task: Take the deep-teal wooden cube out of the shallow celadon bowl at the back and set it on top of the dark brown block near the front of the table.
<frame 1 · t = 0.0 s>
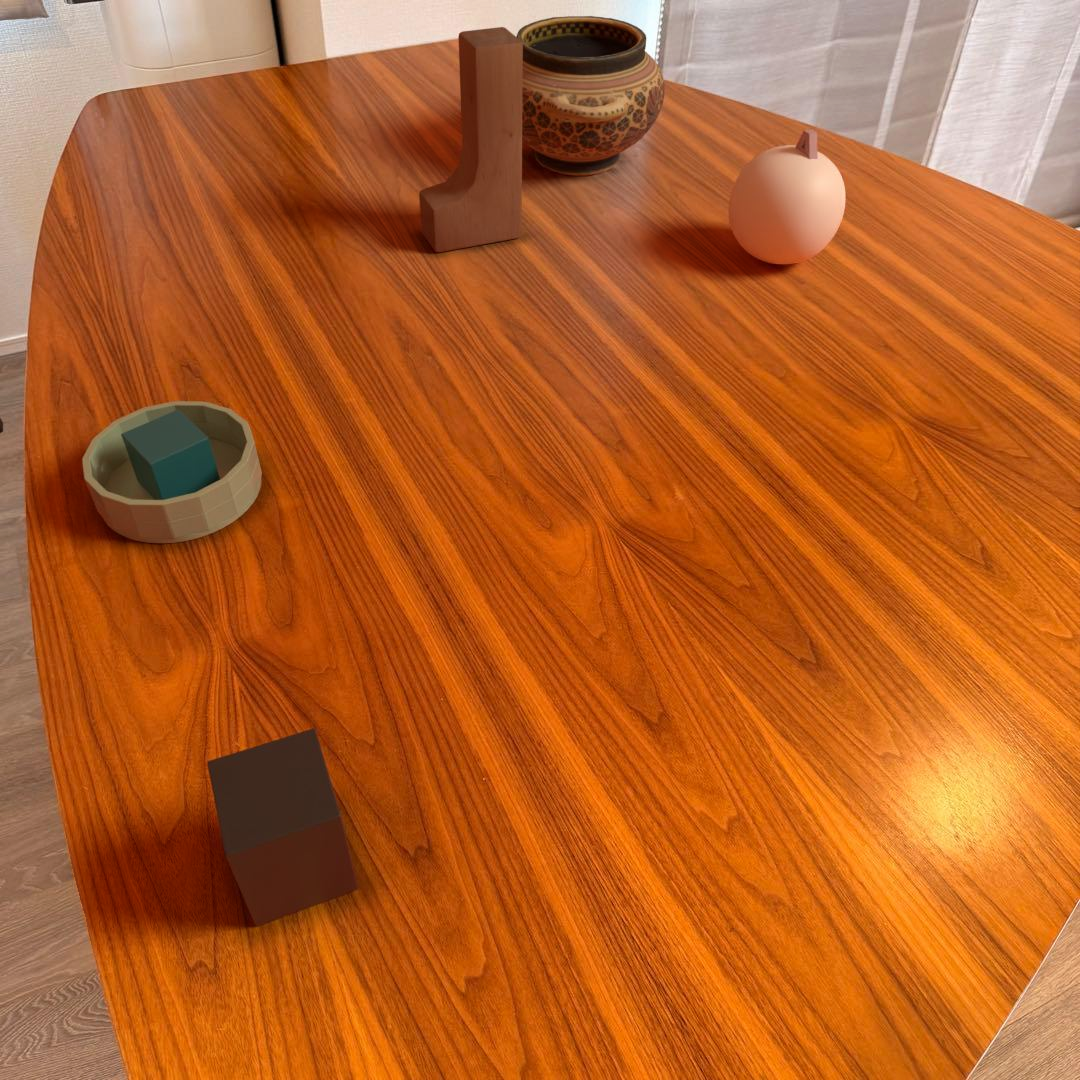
ornament: (775, 258, 94), on the table
teal block: (179, 483, 68), resting on dish
dish: (181, 488, 68), on the table
dark brown block: (272, 787, 43), on the table
ceramic bowl: (576, 160, 109), on the table
wooden block: (471, 238, 95), on the table
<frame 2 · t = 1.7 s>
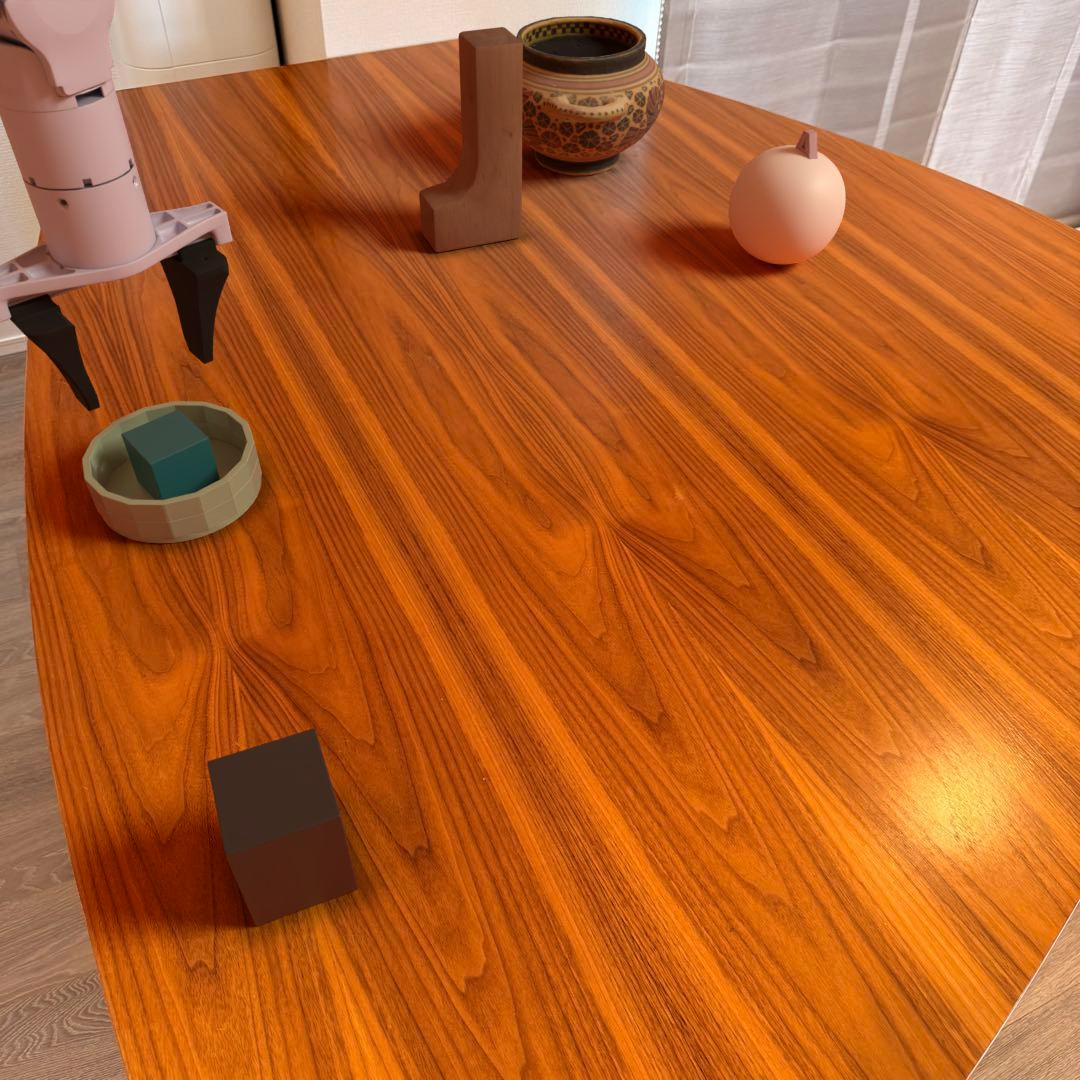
hand: (146, 378, 62), 9 cm above the table, tool pointing down, fingers open, 7 cm apart
nothing on the table moved.
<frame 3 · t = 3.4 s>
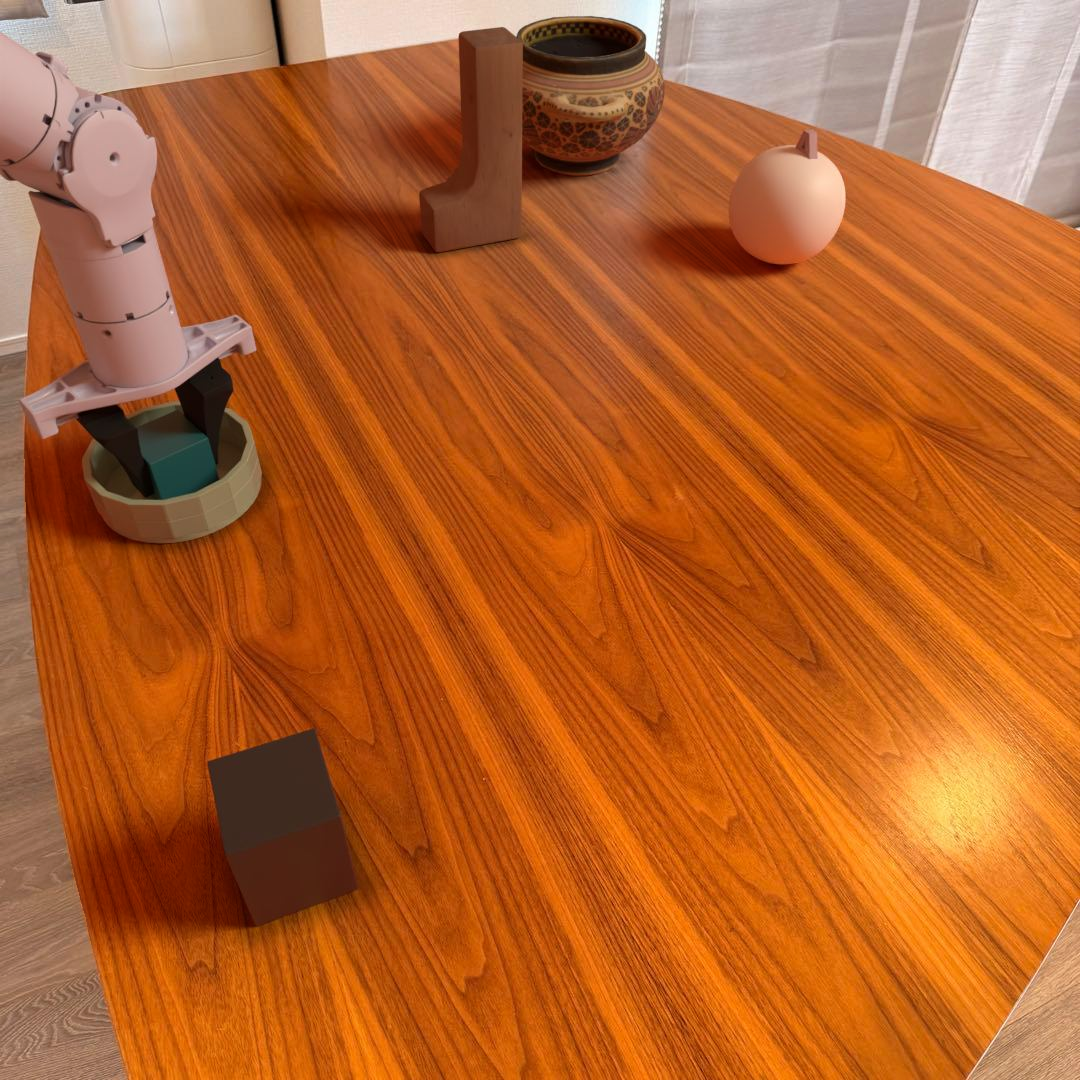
hand: (176, 473, 67), 1 cm above the table, tool pointing down, fingers closed on teal block, 4 cm apart
teal block: (179, 483, 68), resting on dish, touching gripper
everything else where it was.
when the fingers open (8 cm above the table, at t = 8.4 s): teal block stays where it is, resting on dark brown block.
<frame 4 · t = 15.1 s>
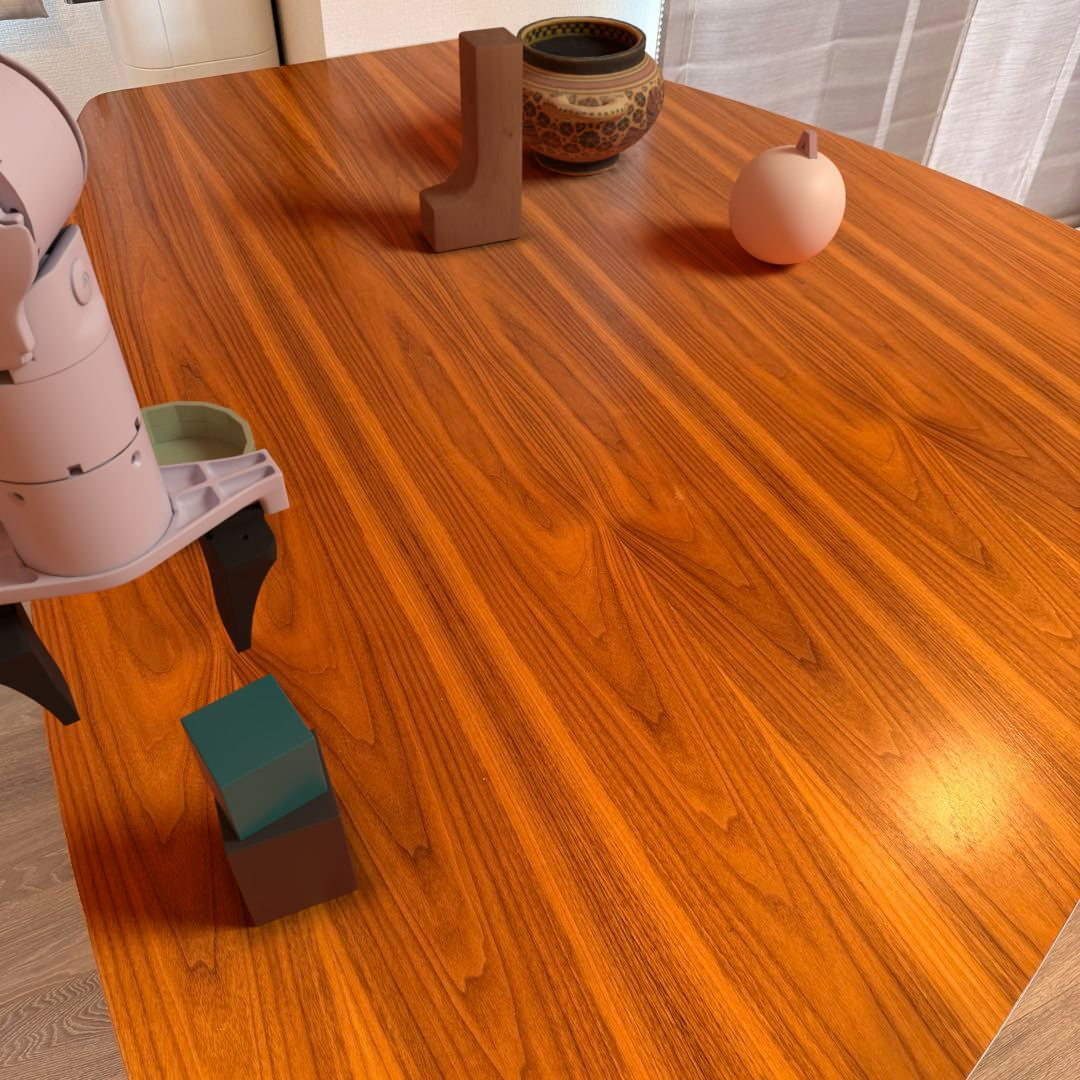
hand: (155, 670, 44), 10 cm above the table, tool pointing down, fingers open, 7 cm apart
teal block: (264, 781, 44), point 7 cm above the table, touching dark brown block
everything else where it was.
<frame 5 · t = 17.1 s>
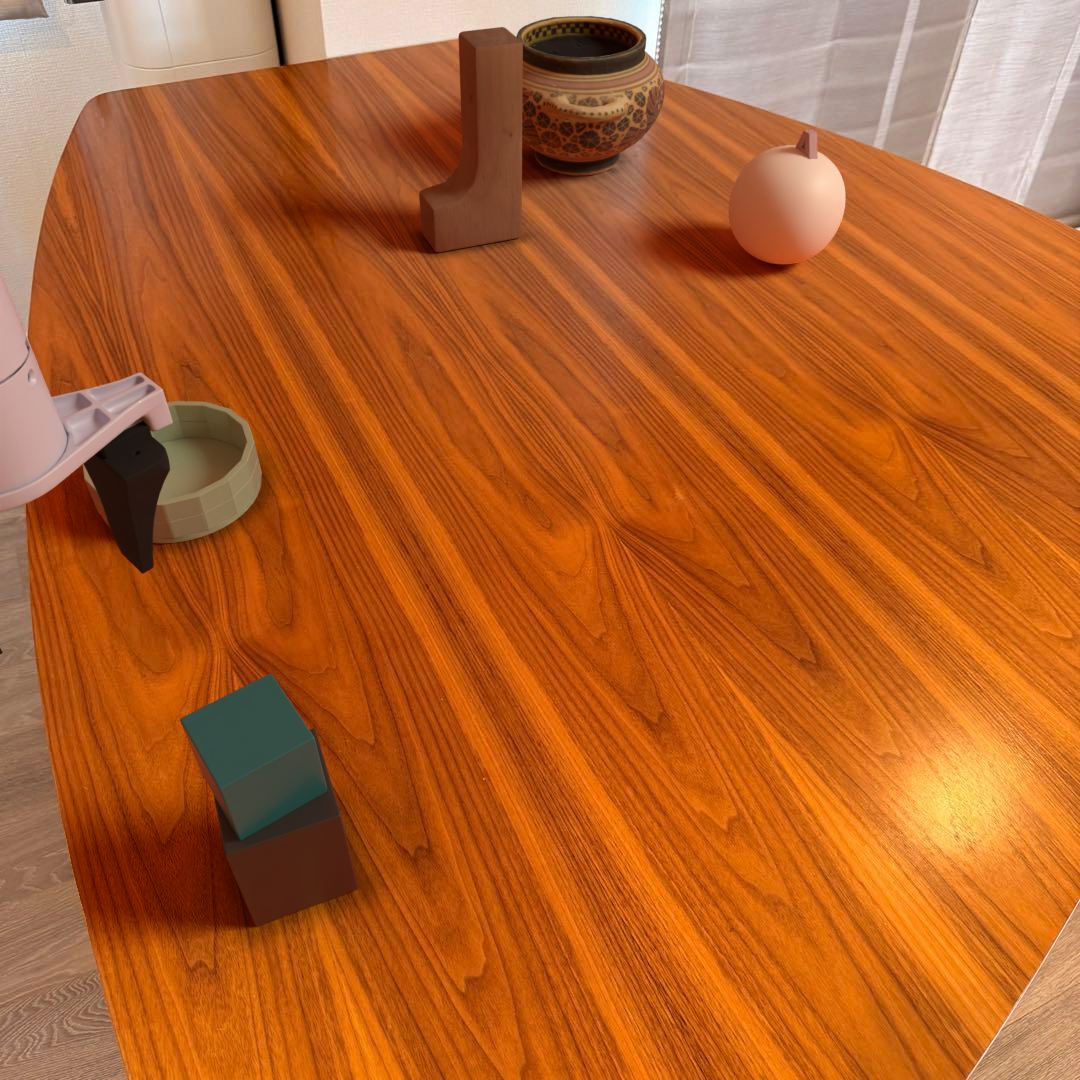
hand: (65, 601, 47), 10 cm above the table, tool pointing down, fingers open, 7 cm apart
nothing on the table moved.
at the end: teal block 0.5 cm off-centre on the dark brown block, point 0.0 cm above the dark brown block's base; teal block tilted 0° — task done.
